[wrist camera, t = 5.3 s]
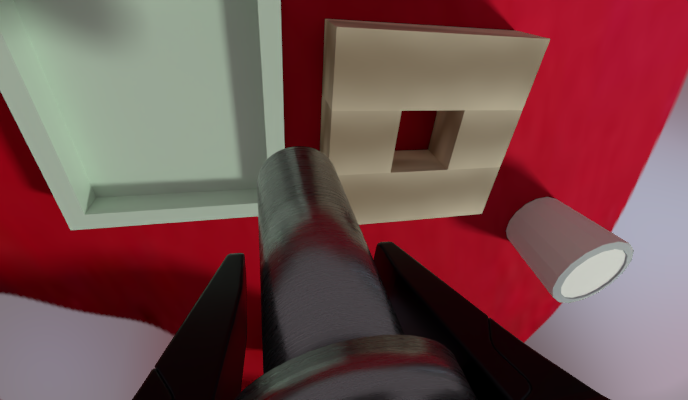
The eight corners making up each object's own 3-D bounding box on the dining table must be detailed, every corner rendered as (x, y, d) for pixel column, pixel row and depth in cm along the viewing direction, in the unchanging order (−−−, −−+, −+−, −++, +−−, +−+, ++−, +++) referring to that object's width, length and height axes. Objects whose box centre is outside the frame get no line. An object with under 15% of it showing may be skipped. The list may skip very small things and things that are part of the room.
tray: (283, 192, 23) (286, 214, 21) (88, 204, 20) (70, 230, 18) (275, -58, 15) (279, -61, 13) (-44, -93, 13) (-99, -105, 11)
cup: (502, 205, 29) (561, 261, 24) (572, 181, 30) (647, 231, 24) (497, 256, 33) (547, 314, 28) (559, 234, 34) (620, 287, 28)
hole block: (461, 192, 27) (481, 213, 25) (317, 202, 24) (325, 227, 22) (515, 30, 20) (550, 38, 18) (324, 18, 18) (336, 26, 15)
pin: (347, 224, 14) (445, 483, 7) (241, 230, 13) (231, 544, 6) (361, 128, 12) (531, 377, 5) (232, 126, 11) (197, 449, 4)
